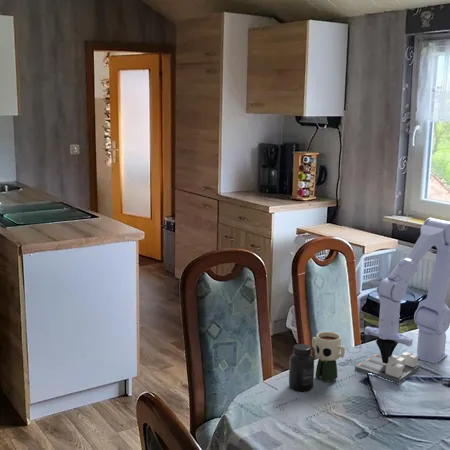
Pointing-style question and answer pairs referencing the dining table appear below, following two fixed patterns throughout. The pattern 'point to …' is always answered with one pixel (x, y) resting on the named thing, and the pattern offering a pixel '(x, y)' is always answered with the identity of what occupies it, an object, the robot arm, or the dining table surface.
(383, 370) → the panel
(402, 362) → the block
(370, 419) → the dining table surface
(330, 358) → the character mug
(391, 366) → the block
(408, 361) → the block
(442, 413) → the dining table surface
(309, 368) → the supplement bottle
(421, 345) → the robot arm
